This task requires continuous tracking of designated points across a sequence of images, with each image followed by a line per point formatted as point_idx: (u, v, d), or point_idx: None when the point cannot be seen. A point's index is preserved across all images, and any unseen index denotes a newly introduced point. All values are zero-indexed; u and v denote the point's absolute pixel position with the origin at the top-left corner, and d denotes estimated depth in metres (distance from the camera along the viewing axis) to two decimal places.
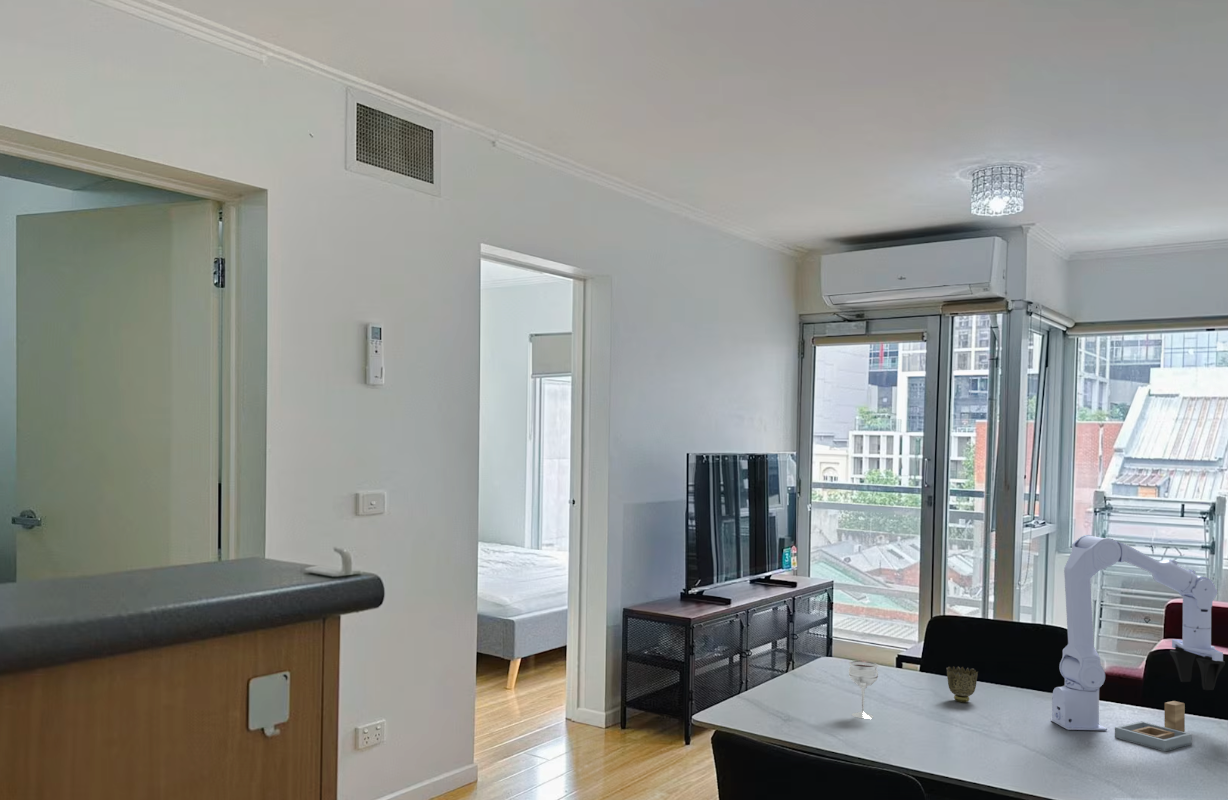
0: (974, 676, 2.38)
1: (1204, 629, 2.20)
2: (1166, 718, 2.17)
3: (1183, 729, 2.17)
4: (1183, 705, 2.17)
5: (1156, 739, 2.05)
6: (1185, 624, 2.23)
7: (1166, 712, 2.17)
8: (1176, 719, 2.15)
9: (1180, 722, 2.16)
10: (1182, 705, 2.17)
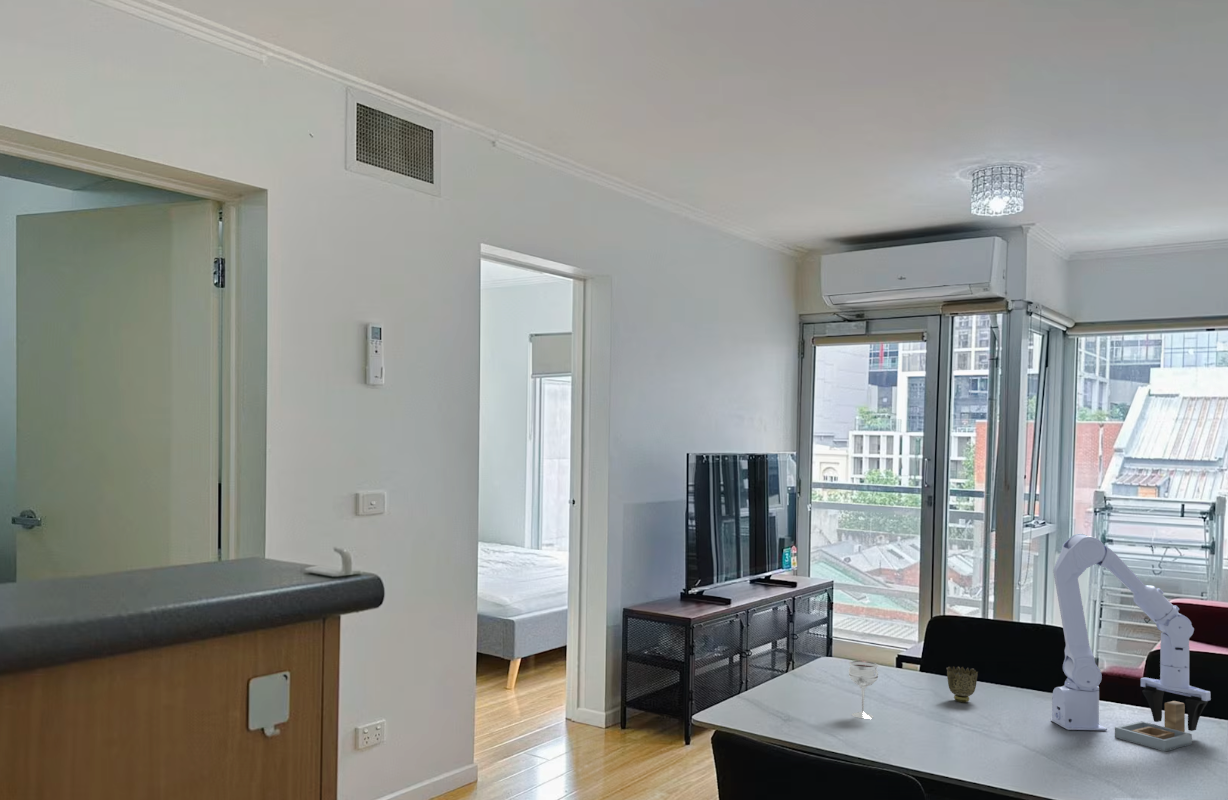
0: (974, 676, 2.38)
1: (1187, 668, 2.15)
2: (1166, 718, 2.17)
3: (1183, 729, 2.17)
4: (1183, 705, 2.17)
5: (1156, 739, 2.05)
6: (1161, 662, 2.18)
7: (1166, 712, 2.17)
8: (1176, 719, 2.15)
9: (1180, 722, 2.16)
10: (1182, 705, 2.17)
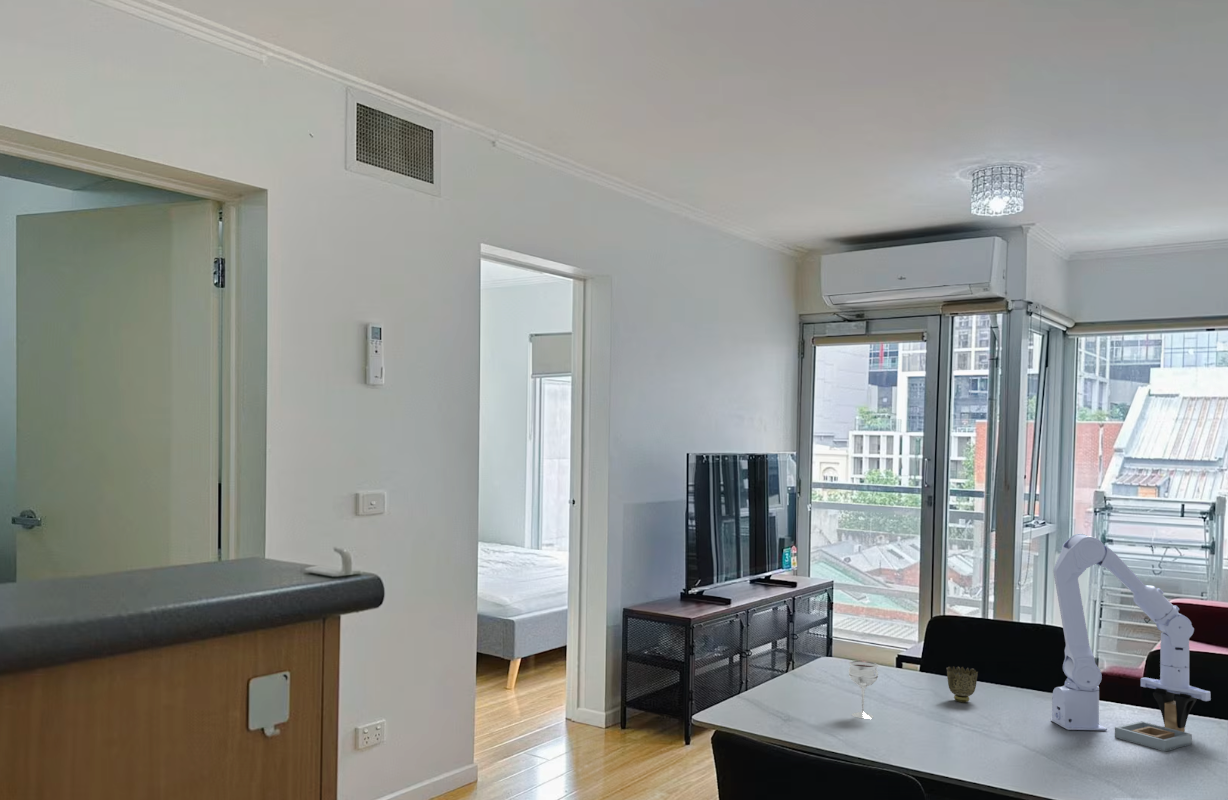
0: (974, 676, 2.38)
1: (1187, 668, 2.15)
2: (1166, 718, 2.17)
3: (1183, 729, 2.17)
4: None
5: (1156, 739, 2.05)
6: (1161, 662, 2.18)
7: (1166, 712, 2.17)
8: (1176, 719, 2.15)
9: None
10: None
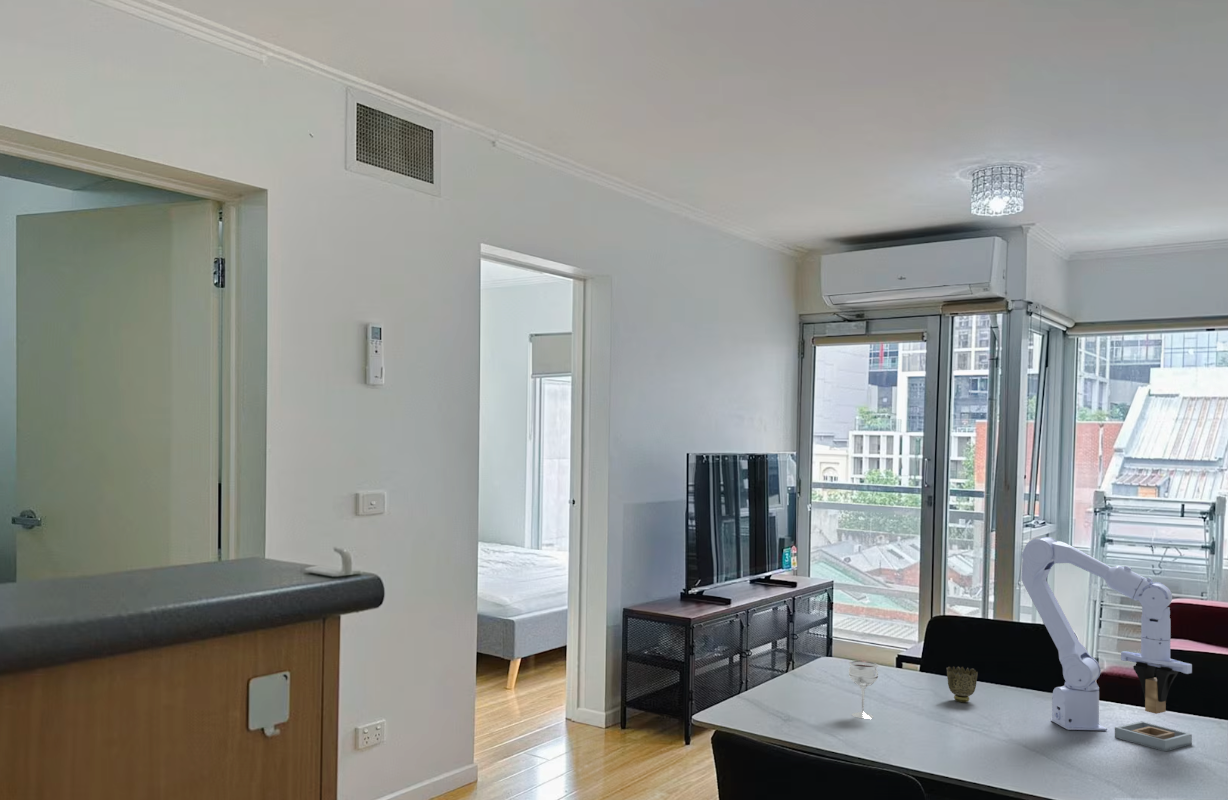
0: (974, 676, 2.38)
1: (1168, 640, 2.10)
2: (1147, 695, 2.12)
3: (1164, 706, 2.12)
4: None
5: (1156, 739, 2.05)
6: (1141, 634, 2.14)
7: (1147, 689, 2.12)
8: (1157, 695, 2.10)
9: None
10: None
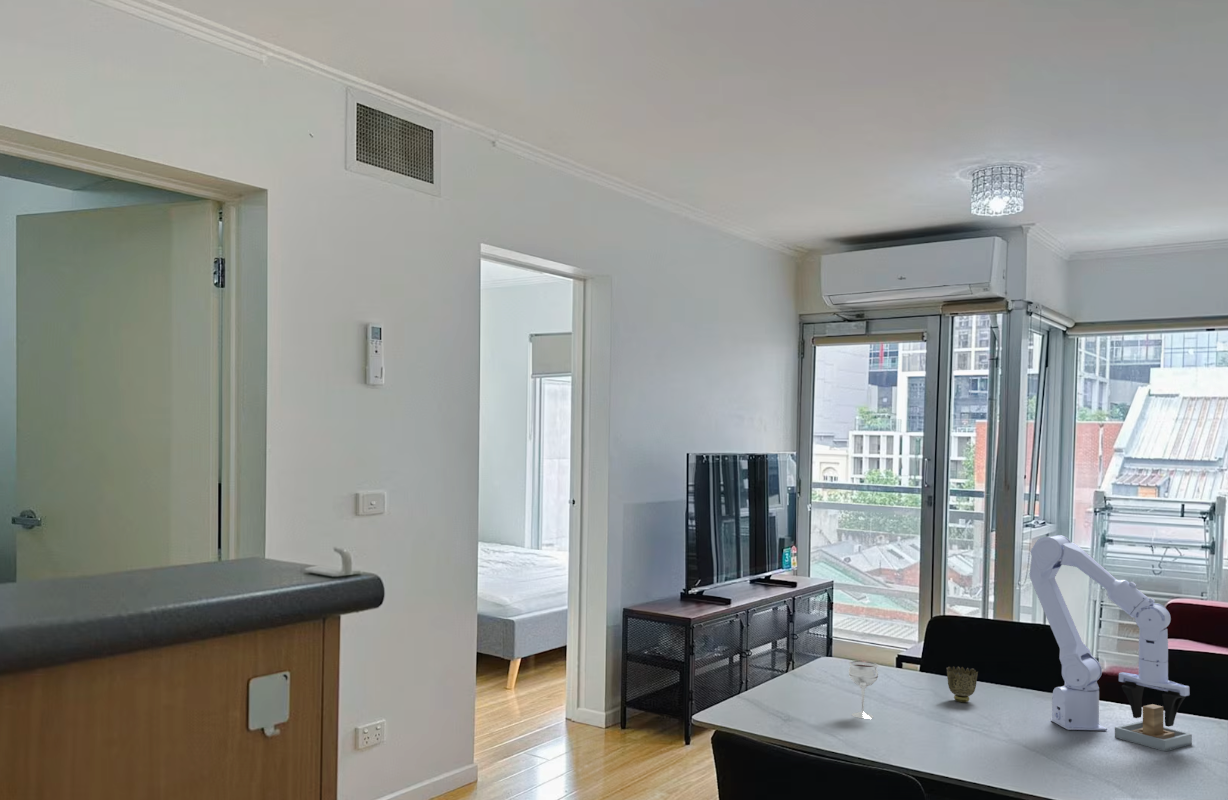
0: (974, 676, 2.38)
1: (1165, 662, 2.09)
2: (1144, 722, 2.11)
3: (1162, 733, 2.11)
4: (1162, 708, 2.11)
5: (1156, 739, 2.05)
6: None
7: (1144, 716, 2.11)
8: (1154, 723, 2.09)
9: (1159, 726, 2.10)
10: (1161, 708, 2.11)
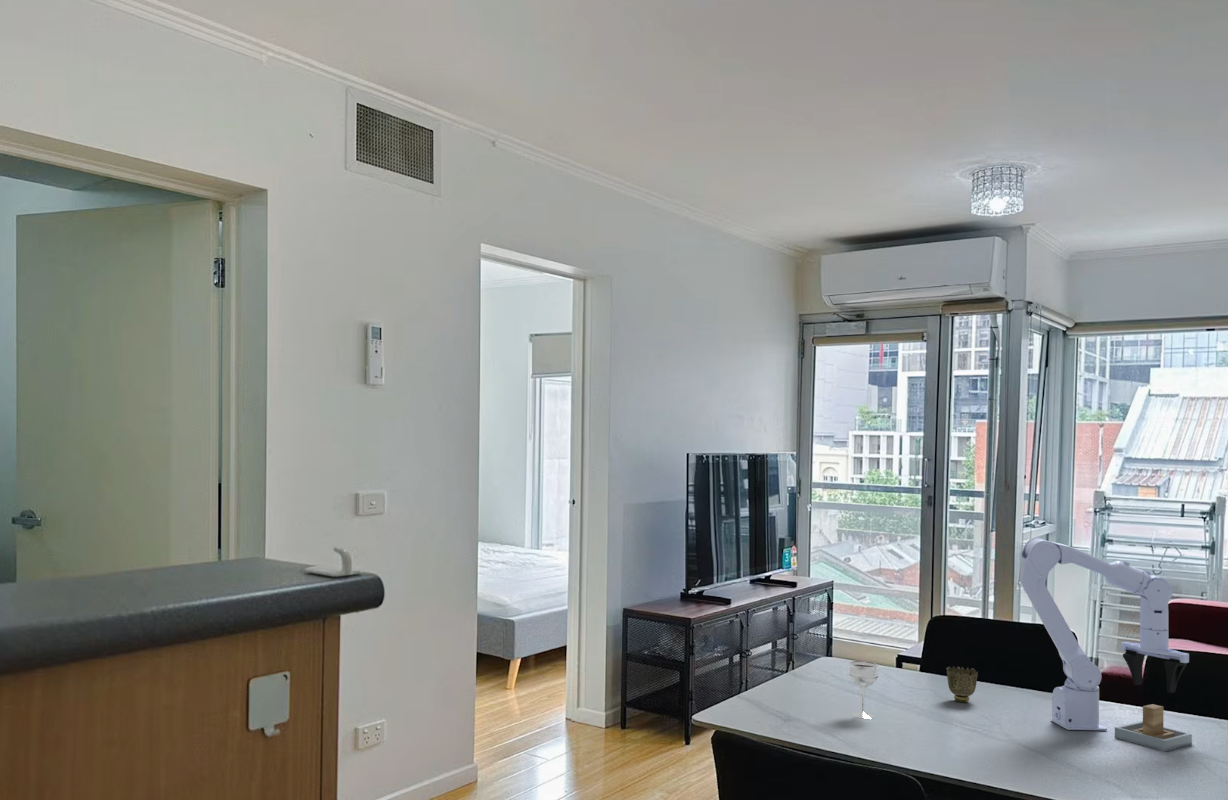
0: (974, 676, 2.38)
1: (1166, 631, 2.16)
2: (1144, 722, 2.11)
3: (1162, 733, 2.11)
4: (1162, 708, 2.11)
5: (1156, 739, 2.05)
6: (1140, 625, 2.19)
7: (1144, 716, 2.11)
8: (1154, 723, 2.09)
9: (1159, 726, 2.10)
10: (1161, 708, 2.11)
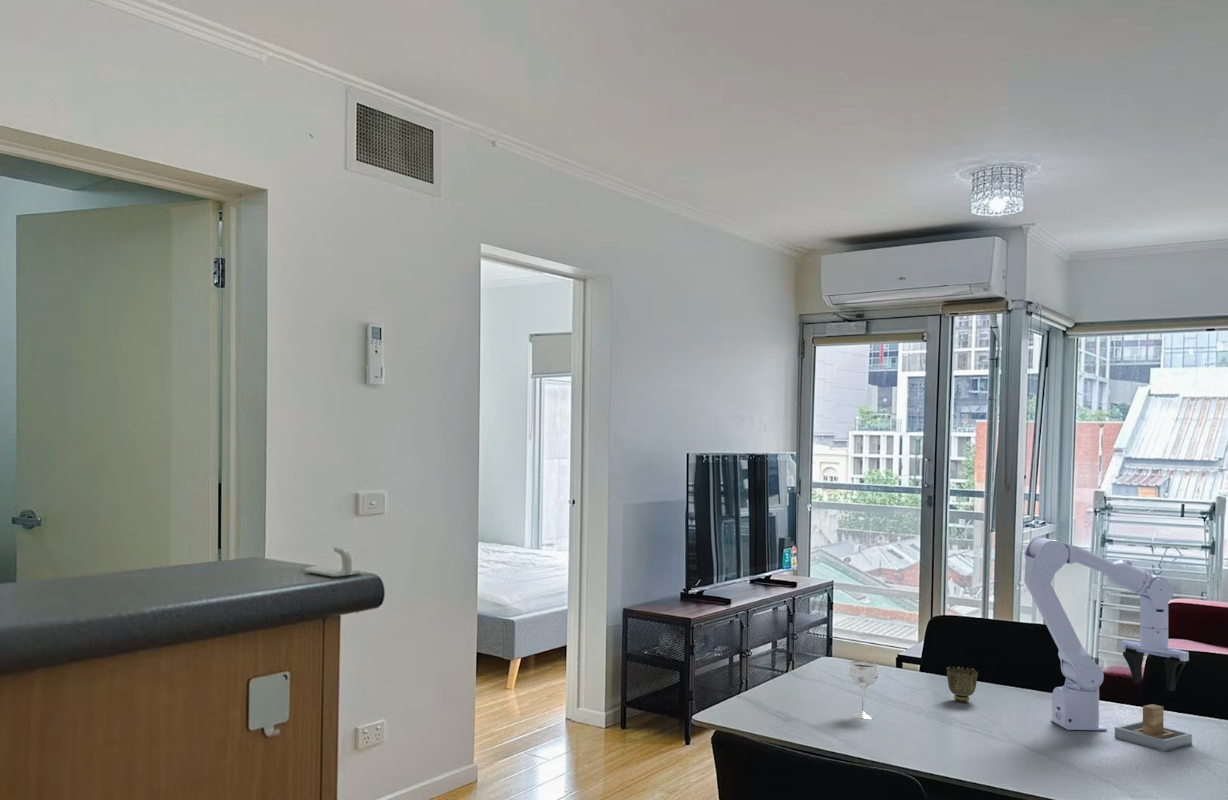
0: (974, 676, 2.38)
1: (1166, 629, 2.18)
2: (1144, 722, 2.11)
3: (1162, 733, 2.11)
4: (1162, 708, 2.11)
5: (1156, 739, 2.05)
6: (1141, 624, 2.21)
7: (1144, 716, 2.11)
8: (1154, 723, 2.09)
9: (1159, 726, 2.10)
10: (1161, 708, 2.11)
